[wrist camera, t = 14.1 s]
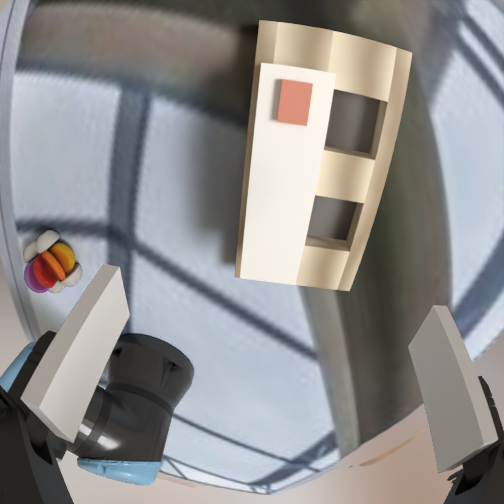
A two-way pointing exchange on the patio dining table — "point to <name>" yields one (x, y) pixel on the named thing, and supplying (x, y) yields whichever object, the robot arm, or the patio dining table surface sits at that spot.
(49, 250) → the rainbow stacked discs
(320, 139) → the power strip
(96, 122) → the patio dining table surface
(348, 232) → the square hole board
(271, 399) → the patio dining table surface
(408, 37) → the patio dining table surface
